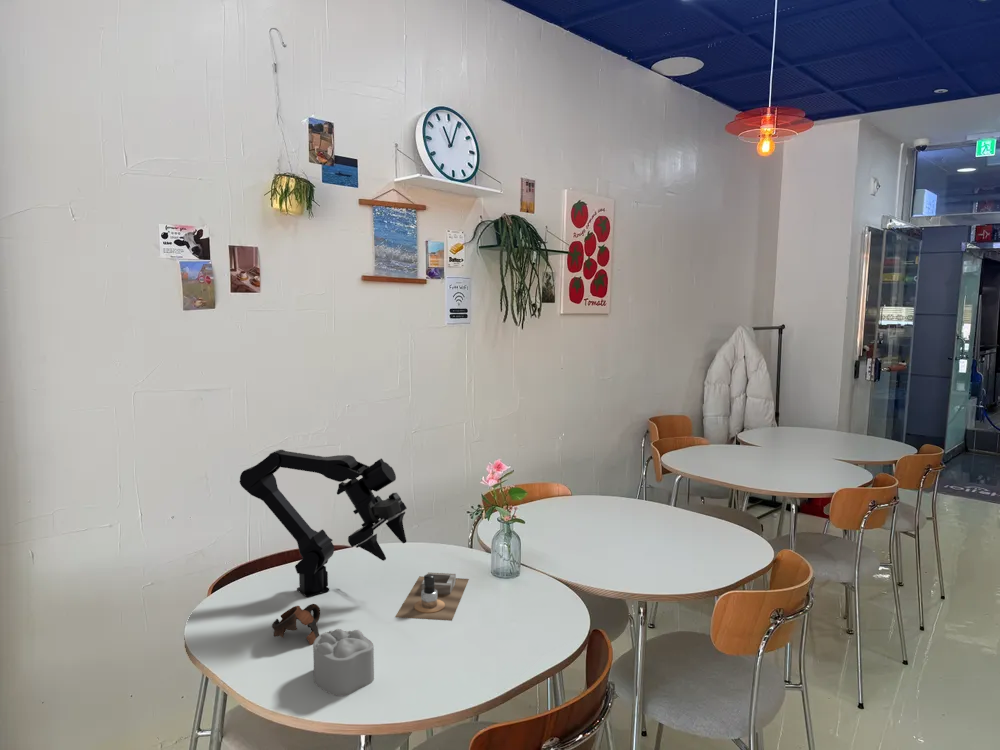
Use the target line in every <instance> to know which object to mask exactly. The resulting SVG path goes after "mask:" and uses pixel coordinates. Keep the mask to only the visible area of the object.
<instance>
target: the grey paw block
mask: <svg viewBox="0 0 1000 750" xmlns="http://www.w3.org/2000/svg"><path fill="white" fill-rule="evenodd" d="M312 645H313V647H312V648H313V649H312V650H313V654H312V655H313V680H314V681H313V682H314V684H315V685H316V686H317V687H319V689H321V690H322V691H324V692H326V693H328V694H330V695H332V696H337V697H341V696H348V695H350V694H352V693H354V692H355V691H357V690H358V689H360V688H363V687H366V686H369V685H371V684H372V683H373V682H374V681H375V657H374V655H375V654H374V653H375V652H374V651H375V649H374V647H375V646H374V643H373V642H372V640H371V639H369V638H368V637H366V636H365V635H364V634H363V632H362V631H361V630H359V629H354V630H349V631H348V630H343V629H342V628H336V629H334V630H329V631H327V632H326V631H325V632H323V633H321V634H319V636H318V637H317V638H316V639H315V641H314V643H313V644H312Z"/></svg>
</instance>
